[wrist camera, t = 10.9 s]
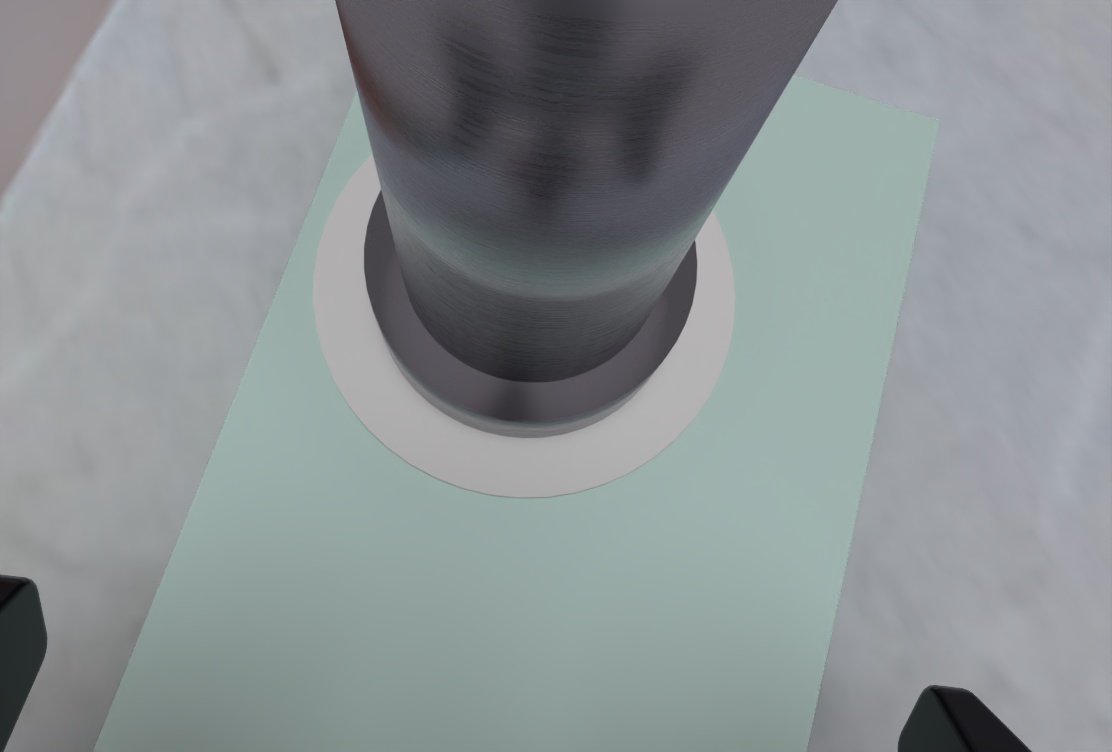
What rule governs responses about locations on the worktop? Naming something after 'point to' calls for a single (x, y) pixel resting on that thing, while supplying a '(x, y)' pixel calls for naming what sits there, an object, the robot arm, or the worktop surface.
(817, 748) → the worktop surface
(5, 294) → the worktop surface
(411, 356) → the grey translucent cylinder
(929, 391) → the worktop surface
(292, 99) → the worktop surface
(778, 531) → the sage board
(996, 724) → the robot arm
